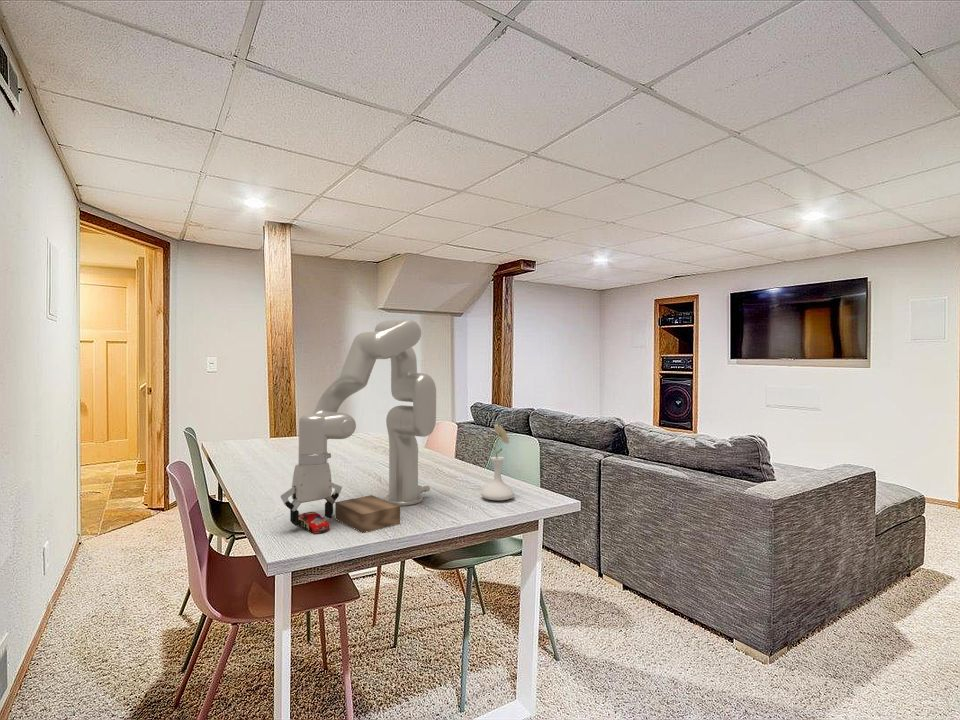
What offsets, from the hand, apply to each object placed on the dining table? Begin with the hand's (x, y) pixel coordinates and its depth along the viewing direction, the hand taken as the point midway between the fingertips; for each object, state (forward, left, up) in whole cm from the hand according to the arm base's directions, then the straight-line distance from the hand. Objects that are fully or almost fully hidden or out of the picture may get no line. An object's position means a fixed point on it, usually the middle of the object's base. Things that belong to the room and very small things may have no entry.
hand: (312, 520), depth 142 cm
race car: (0, 0, -2) cm, 2 cm away
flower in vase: (-60, +12, -2) cm, 61 cm away
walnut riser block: (-14, +5, -2) cm, 15 cm away
